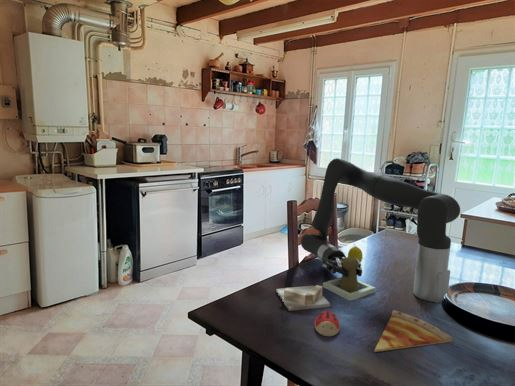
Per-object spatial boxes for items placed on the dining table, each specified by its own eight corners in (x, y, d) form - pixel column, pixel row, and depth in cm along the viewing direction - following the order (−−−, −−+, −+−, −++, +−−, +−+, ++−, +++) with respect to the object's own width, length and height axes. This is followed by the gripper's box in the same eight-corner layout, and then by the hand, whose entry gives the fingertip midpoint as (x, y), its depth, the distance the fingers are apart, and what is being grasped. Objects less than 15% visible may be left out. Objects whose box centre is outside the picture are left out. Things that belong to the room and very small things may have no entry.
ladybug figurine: (314, 336, 93) (315, 324, 92) (314, 317, 103) (314, 306, 102) (341, 339, 92) (341, 326, 92) (338, 319, 102) (338, 308, 101)
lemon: (345, 266, 142) (347, 247, 140) (349, 262, 147) (350, 243, 145) (360, 269, 139) (361, 249, 138) (363, 264, 144) (364, 245, 143)
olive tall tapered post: (359, 293, 118) (362, 261, 116) (341, 293, 118) (343, 261, 116) (355, 285, 124) (357, 255, 122) (337, 285, 124) (339, 254, 122)
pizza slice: (344, 320, 102) (344, 313, 101) (412, 313, 107) (413, 306, 107) (374, 353, 87) (374, 346, 86) (452, 343, 92) (453, 335, 92)
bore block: (374, 292, 119) (375, 287, 119) (350, 300, 113) (350, 296, 113) (347, 279, 129) (347, 275, 129) (322, 286, 123) (323, 282, 122)
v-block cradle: (276, 291, 118) (276, 280, 117) (313, 288, 121) (313, 277, 121) (289, 310, 106) (289, 298, 105) (329, 306, 109) (330, 294, 108)
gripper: (313, 247, 131) (334, 264, 115) (349, 245, 135) (374, 261, 118) (312, 267, 132) (333, 286, 116) (347, 264, 136) (372, 283, 120)
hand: (354, 273), depth 117 cm, fingers closed on olive tall tapered post, 4 cm apart
